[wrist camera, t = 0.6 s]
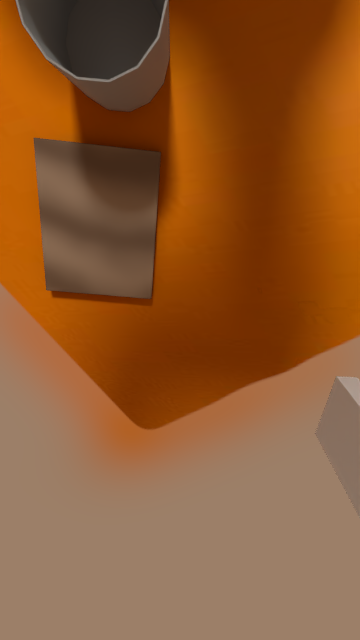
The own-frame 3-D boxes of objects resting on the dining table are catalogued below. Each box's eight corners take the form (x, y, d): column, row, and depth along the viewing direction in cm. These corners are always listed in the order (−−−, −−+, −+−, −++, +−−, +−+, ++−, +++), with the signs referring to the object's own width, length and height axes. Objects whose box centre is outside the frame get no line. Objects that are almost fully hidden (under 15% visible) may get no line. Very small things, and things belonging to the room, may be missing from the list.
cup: (96, 127, 28) (60, 106, 19) (47, 14, 25) (-25, -76, 16) (184, 85, 27) (190, 42, 18) (145, -39, 24) (128, -169, 15)
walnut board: (38, 139, 28) (33, 137, 27) (161, 152, 29) (160, 152, 28) (50, 286, 34) (46, 290, 33) (151, 295, 35) (151, 298, 34)
